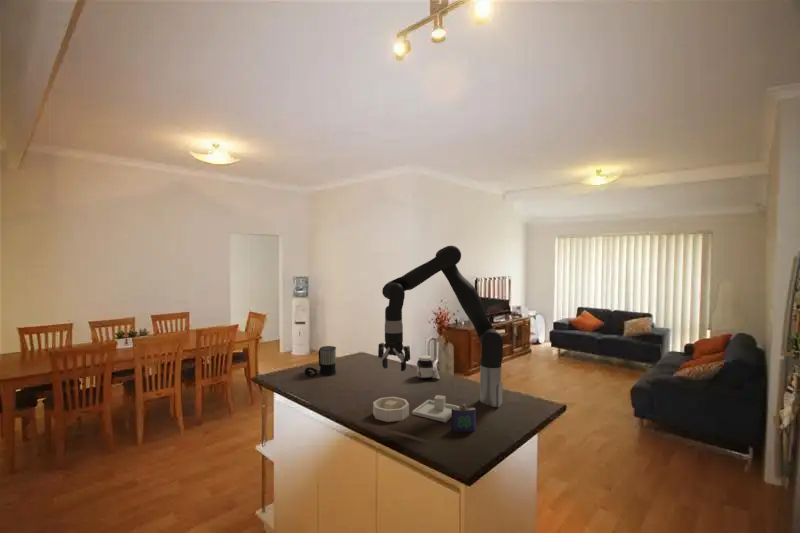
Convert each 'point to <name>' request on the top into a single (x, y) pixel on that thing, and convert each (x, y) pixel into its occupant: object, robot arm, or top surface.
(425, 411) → the tray
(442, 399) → the pebble grey
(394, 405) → the cream wooden brick
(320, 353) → the milk frother
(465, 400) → the top surface
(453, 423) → the flask
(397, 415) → the bowl
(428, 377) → the spread jar
